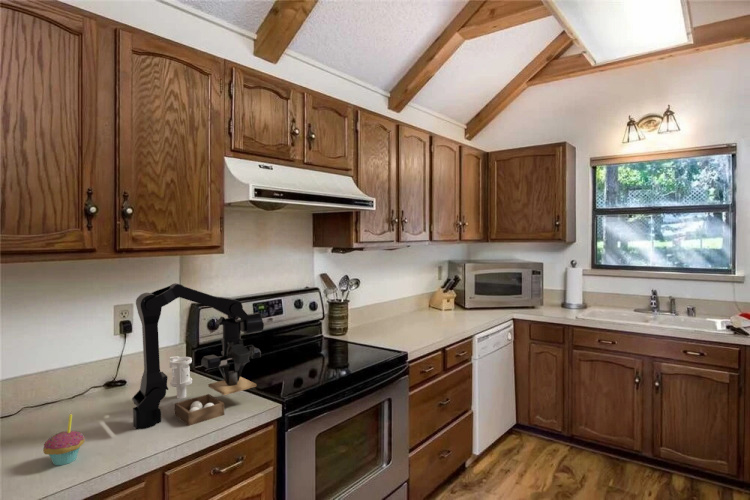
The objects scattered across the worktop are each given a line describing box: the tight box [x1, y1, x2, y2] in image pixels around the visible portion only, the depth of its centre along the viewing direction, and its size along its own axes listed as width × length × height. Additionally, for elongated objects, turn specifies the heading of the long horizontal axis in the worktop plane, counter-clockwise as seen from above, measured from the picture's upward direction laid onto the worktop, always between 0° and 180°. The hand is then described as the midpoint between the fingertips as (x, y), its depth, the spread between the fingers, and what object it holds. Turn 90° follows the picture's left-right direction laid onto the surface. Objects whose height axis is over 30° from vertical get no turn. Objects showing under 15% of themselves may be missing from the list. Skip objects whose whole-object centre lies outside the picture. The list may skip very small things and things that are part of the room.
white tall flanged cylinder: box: [169, 355, 193, 400], centre depth 151 cm, size 7×7×15 cm
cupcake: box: [42, 410, 85, 466], centre depth 110 cm, size 9×8×12 cm
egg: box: [190, 401, 203, 409], centre depth 137 cm, size 4×4×4 cm
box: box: [174, 393, 225, 427], centre depth 136 cm, size 11×11×4 cm
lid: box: [208, 370, 257, 396], centre depth 145 cm, size 11×11×5 cm
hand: (232, 382), depth 145 cm, fingers closed on lid, 3 cm apart
